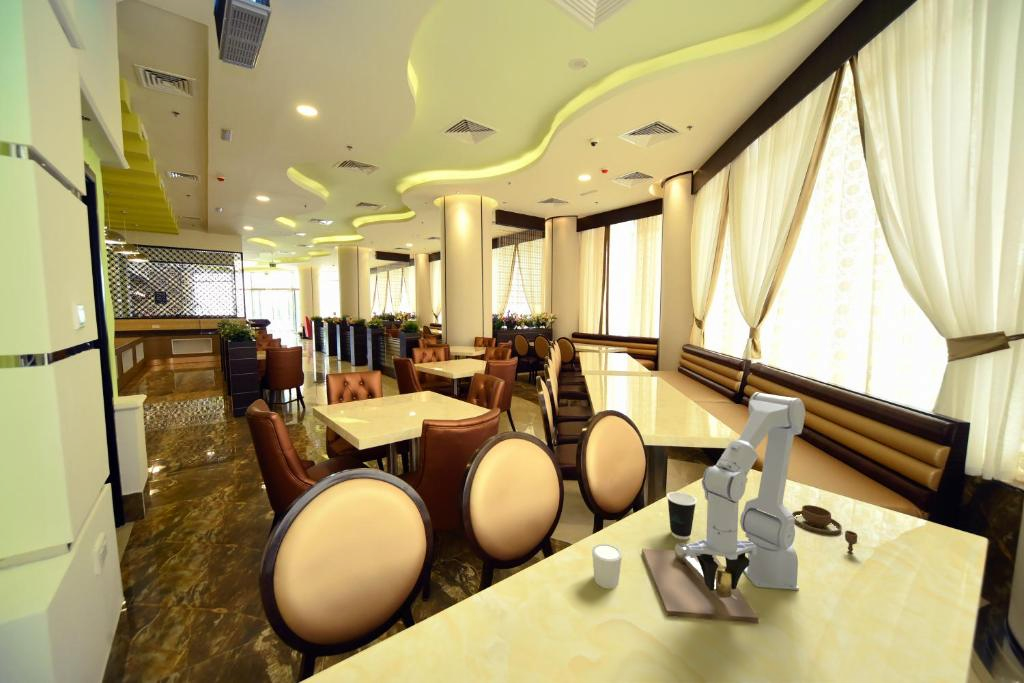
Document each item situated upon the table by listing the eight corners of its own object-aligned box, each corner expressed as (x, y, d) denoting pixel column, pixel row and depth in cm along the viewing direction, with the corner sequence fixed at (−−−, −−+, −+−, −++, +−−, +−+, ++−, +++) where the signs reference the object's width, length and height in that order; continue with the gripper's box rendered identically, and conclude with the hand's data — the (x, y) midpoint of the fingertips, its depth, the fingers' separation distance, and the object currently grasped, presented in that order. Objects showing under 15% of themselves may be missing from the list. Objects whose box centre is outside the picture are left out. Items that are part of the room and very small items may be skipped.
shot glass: (622, 592, 87) (623, 562, 87) (591, 588, 88) (592, 558, 88) (620, 572, 94) (620, 545, 93) (591, 569, 95) (592, 541, 95)
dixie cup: (691, 529, 114) (692, 492, 113) (699, 544, 106) (700, 505, 105) (663, 526, 115) (664, 490, 114) (668, 541, 107) (669, 502, 107)
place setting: (853, 527, 116) (854, 508, 115) (860, 560, 100) (861, 538, 100) (782, 509, 126) (783, 492, 126) (778, 536, 110) (779, 516, 110)
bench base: (713, 557, 100) (713, 552, 100) (758, 623, 78) (758, 617, 78) (642, 552, 102) (642, 548, 102) (667, 616, 80) (667, 610, 80)
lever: (685, 554, 99) (685, 527, 98) (735, 606, 81) (736, 573, 80) (672, 555, 98) (672, 528, 98) (720, 608, 80) (721, 575, 80)
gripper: (699, 536, 76) (698, 602, 77) (768, 533, 78) (766, 598, 78) (681, 518, 84) (680, 578, 84) (744, 516, 85) (742, 575, 85)
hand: (720, 586), depth 82 cm, fingers open, 4 cm apart
